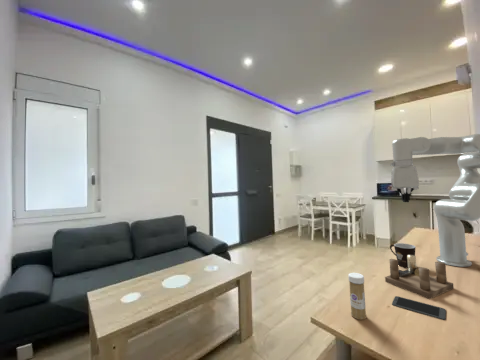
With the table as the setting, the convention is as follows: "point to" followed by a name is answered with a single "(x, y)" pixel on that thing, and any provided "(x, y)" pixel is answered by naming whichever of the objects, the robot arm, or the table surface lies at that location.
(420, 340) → the table surface
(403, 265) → the coffee mug
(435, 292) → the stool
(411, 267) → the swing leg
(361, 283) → the sprinkles bottle
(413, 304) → the cell phone
